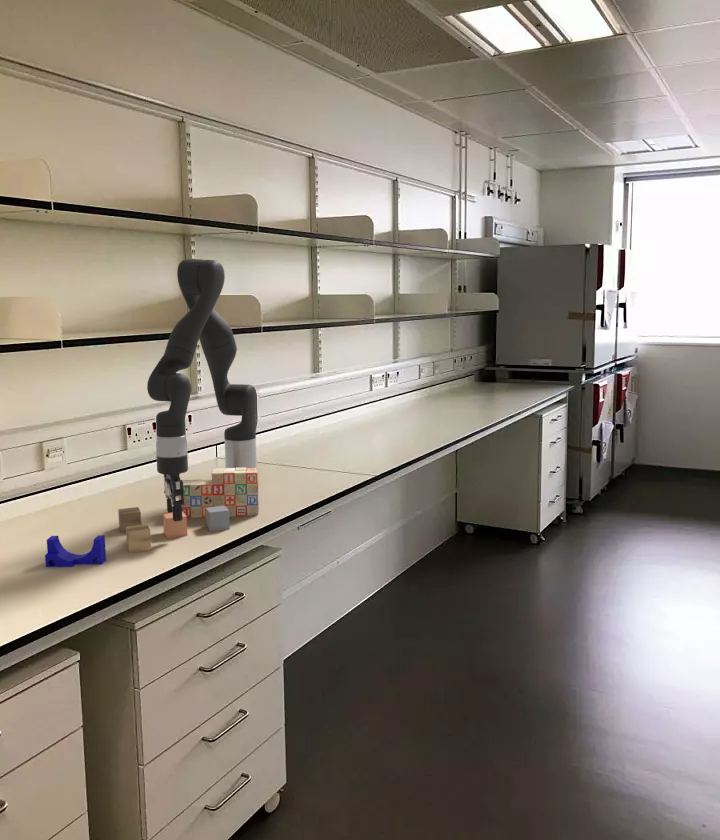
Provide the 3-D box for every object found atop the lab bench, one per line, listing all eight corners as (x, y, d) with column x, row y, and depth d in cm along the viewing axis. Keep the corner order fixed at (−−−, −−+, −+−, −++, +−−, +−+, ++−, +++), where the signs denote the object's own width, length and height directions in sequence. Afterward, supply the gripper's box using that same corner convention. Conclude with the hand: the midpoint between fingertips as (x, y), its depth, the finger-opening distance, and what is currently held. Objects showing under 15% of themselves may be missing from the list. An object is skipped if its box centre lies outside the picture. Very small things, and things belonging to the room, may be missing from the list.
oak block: (126, 546, 190) (125, 526, 189) (148, 544, 192) (147, 524, 191) (129, 553, 186) (128, 532, 185) (151, 550, 188) (150, 529, 187)
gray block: (206, 526, 206) (205, 507, 206) (225, 524, 208) (224, 505, 208) (210, 531, 202) (209, 512, 201) (229, 529, 204) (229, 510, 203)
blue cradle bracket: (45, 567, 176) (43, 541, 176) (53, 561, 181) (51, 535, 180) (99, 567, 176) (98, 541, 176) (106, 560, 181) (104, 535, 180)
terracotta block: (163, 532, 201) (163, 513, 201) (183, 530, 203) (182, 511, 202) (167, 538, 197) (166, 518, 196) (187, 535, 199) (186, 516, 198)
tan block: (119, 527, 206) (118, 509, 205) (139, 525, 208) (138, 507, 207) (121, 533, 201) (120, 514, 200) (141, 530, 203) (140, 511, 202)
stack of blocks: (178, 518, 214) (176, 474, 212) (181, 512, 220) (179, 469, 218) (258, 516, 216) (257, 471, 214) (259, 509, 222) (258, 466, 220)
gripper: (192, 457, 192) (195, 522, 194) (182, 447, 205) (184, 508, 207) (161, 459, 189) (164, 525, 191) (152, 449, 202) (155, 511, 204)
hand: (174, 516), depth 199 cm, fingers open, 8 cm apart
